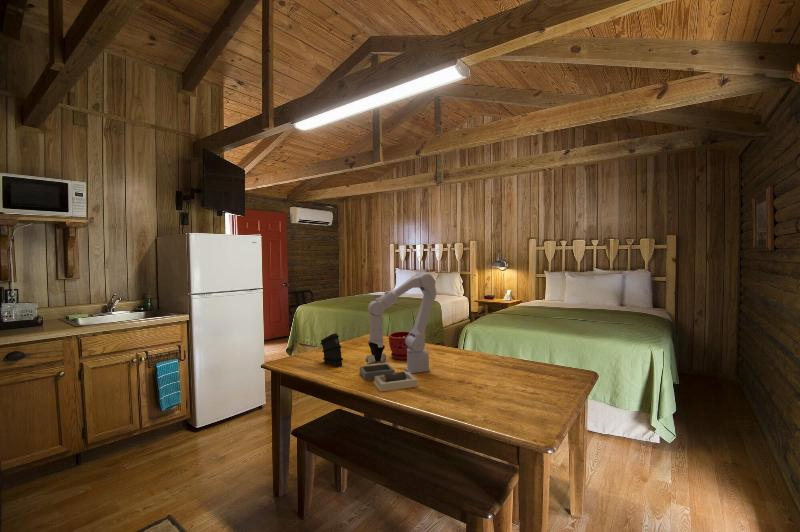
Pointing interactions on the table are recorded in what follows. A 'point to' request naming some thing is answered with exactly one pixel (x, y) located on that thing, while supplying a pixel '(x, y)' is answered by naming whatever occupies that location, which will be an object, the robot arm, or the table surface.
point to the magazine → (332, 350)
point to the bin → (375, 371)
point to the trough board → (395, 383)
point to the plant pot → (398, 345)
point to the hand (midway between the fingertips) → (376, 359)
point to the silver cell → (371, 359)
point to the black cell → (395, 377)
